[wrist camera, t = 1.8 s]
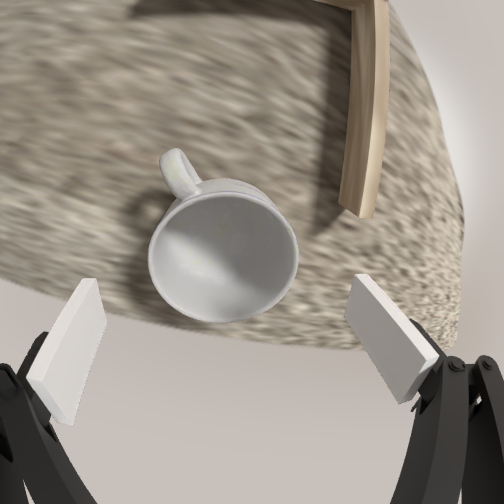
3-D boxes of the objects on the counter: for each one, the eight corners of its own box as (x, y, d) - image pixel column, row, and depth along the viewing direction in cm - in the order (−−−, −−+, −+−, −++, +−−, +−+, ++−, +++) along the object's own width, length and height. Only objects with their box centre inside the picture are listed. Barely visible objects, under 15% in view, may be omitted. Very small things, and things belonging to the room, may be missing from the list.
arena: (151, 200, 24) (141, 215, 20) (166, -22, 15) (161, -45, 11) (350, 203, 28) (372, 218, 24) (363, 4, 18) (386, -9, 14)
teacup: (283, 260, 29) (307, 306, 22) (182, 288, 29) (178, 340, 22) (253, 124, 23) (275, 124, 16) (135, 158, 23) (106, 174, 15)
